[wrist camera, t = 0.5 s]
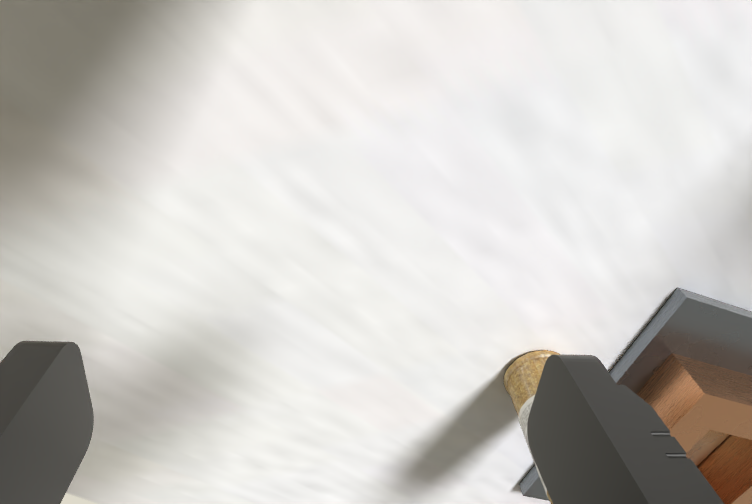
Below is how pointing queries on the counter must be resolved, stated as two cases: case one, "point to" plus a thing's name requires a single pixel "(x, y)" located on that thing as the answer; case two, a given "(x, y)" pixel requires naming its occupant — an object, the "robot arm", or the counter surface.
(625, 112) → the counter surface
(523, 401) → the spice jar
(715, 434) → the collar deck
